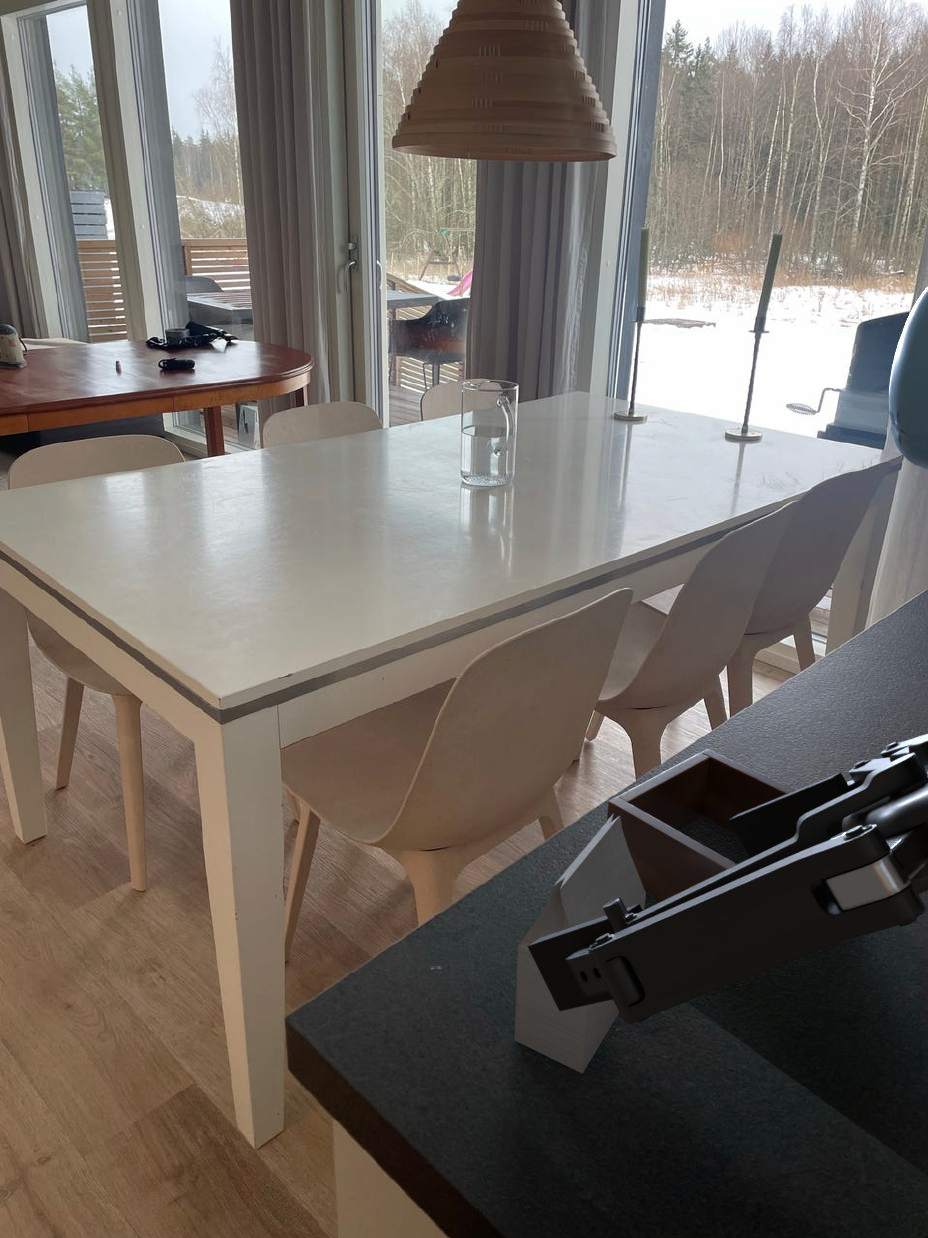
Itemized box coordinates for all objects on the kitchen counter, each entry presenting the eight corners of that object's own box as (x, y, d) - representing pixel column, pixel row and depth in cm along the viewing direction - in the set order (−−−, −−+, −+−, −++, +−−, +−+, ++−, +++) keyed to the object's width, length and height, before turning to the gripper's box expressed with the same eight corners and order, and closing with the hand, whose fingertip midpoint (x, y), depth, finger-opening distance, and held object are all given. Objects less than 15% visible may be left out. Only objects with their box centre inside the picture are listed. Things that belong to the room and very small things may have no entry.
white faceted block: (636, 984, 49) (652, 826, 46) (582, 1073, 44) (595, 903, 40) (573, 957, 51) (584, 803, 47) (514, 1040, 46) (520, 874, 42)
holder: (697, 829, 62) (707, 748, 60) (829, 902, 56) (846, 814, 53) (600, 888, 57) (608, 801, 54) (734, 978, 50) (749, 882, 48)
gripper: (1071, 1143, 16) (486, 1151, 33) (1341, 716, 31) (849, 867, 48) (840, 760, 18) (393, 949, 34) (1201, 529, 33) (772, 737, 49)
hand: (657, 902), depth 41 cm, fingers open, 13 cm apart
